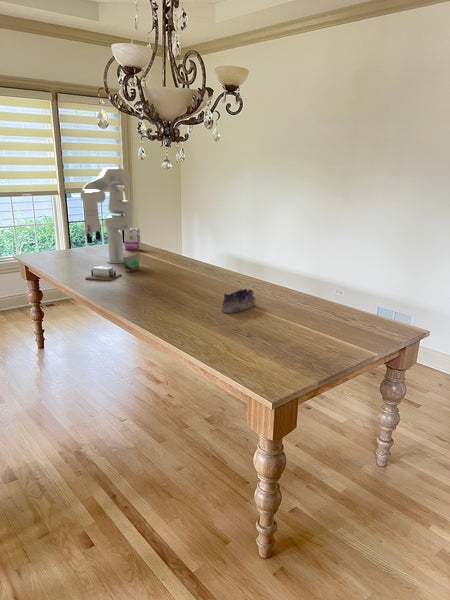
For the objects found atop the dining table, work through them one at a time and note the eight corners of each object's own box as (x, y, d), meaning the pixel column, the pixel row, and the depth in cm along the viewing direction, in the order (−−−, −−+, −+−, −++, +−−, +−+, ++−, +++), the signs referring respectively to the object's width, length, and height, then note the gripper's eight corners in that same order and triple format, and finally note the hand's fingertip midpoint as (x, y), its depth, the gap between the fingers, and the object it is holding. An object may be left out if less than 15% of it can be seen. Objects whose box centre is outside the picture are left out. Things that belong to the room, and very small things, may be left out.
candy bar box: (140, 249, 342) (139, 228, 337) (138, 250, 338) (137, 229, 332) (127, 248, 344) (126, 227, 339) (125, 249, 339) (123, 228, 334)
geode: (236, 317, 202) (234, 296, 199) (217, 314, 209) (214, 294, 206) (260, 304, 217) (258, 285, 214) (241, 302, 224) (239, 284, 221)
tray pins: (95, 273, 266) (94, 268, 264) (116, 275, 262) (115, 270, 261) (91, 275, 261) (90, 270, 260) (112, 277, 258) (112, 272, 257)
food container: (130, 273, 271) (129, 258, 268) (123, 272, 275) (122, 256, 272) (144, 270, 281) (144, 254, 277) (138, 268, 284) (137, 253, 281)
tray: (98, 273, 270) (98, 271, 270) (121, 275, 266) (121, 274, 266) (85, 279, 258) (85, 277, 257) (109, 281, 254) (109, 279, 253)
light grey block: (98, 274, 265) (98, 266, 264) (113, 275, 263) (112, 267, 261) (94, 276, 261) (93, 267, 259) (109, 277, 258) (108, 269, 257)
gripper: (93, 210, 266) (96, 238, 272) (77, 214, 250) (80, 243, 256) (104, 210, 264) (107, 238, 270) (89, 215, 248) (92, 244, 254)
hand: (94, 241), depth 263 cm, fingers open, 9 cm apart
